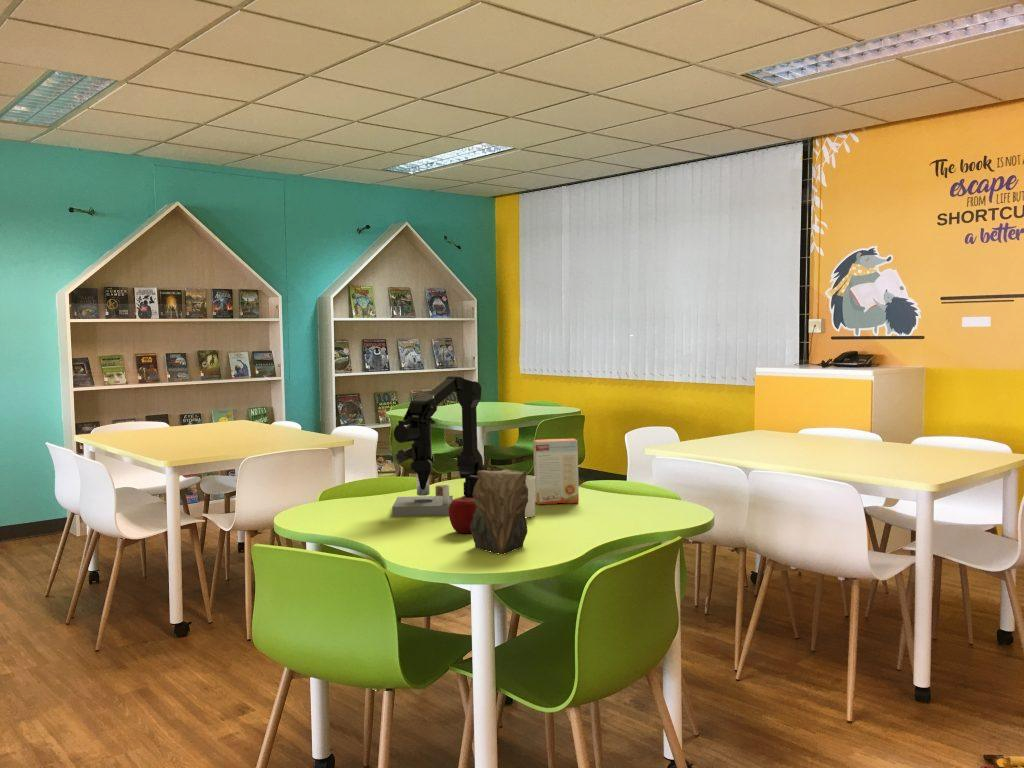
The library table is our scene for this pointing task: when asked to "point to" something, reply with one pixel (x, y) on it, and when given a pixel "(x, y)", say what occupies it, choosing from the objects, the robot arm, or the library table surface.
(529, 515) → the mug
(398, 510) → the grey peg base
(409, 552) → the library table surface
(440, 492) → the short pin
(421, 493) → the long pin
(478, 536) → the owl
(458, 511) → the apple
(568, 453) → the cracker box
